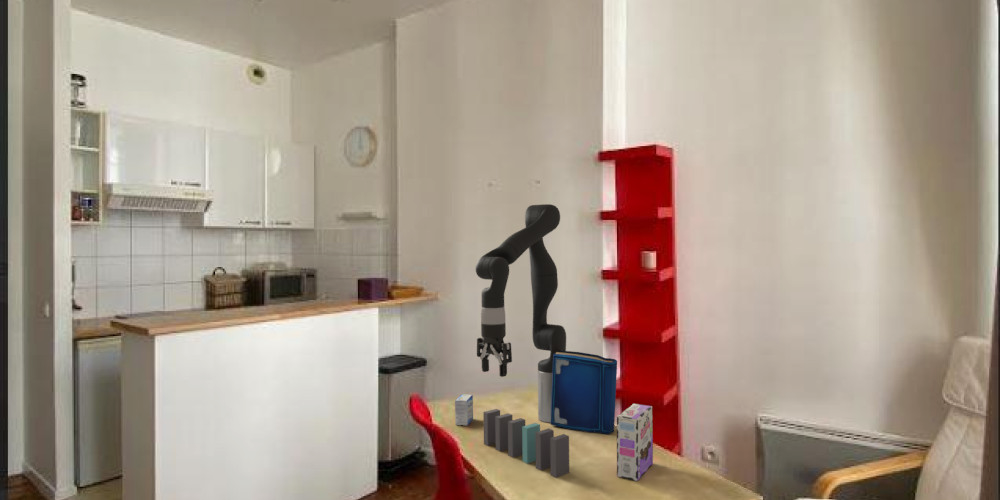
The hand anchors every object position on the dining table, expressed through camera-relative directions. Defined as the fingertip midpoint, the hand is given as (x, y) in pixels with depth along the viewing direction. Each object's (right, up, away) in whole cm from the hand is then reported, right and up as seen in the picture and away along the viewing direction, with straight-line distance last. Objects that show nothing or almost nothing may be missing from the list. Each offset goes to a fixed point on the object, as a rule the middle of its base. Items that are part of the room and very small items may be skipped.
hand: (494, 373), depth 173 cm
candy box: (+39, -22, -20) cm, 49 cm away
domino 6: (+18, -22, -22) cm, 36 cm away
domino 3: (+7, -22, -8) cm, 24 cm away
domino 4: (+11, -22, -13) cm, 28 cm away
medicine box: (-11, -22, +22) cm, 33 cm away
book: (+30, -22, +14) cm, 39 cm away
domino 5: (+14, -22, -18) cm, 32 cm away
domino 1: (-1, -22, +1) cm, 22 cm away
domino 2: (+3, -22, -3) cm, 22 cm away
